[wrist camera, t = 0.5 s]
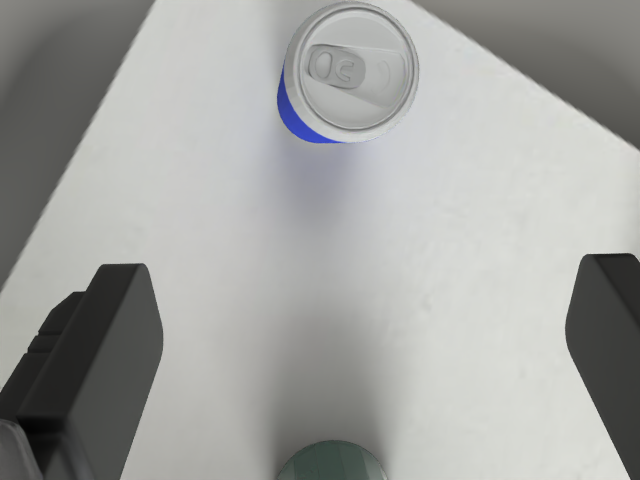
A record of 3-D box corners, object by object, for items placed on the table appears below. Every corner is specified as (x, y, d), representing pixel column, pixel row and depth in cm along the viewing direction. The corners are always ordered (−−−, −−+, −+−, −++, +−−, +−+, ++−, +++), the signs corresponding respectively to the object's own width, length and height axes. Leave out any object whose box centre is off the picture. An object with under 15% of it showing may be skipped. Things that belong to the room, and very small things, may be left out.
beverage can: (369, 68, 36) (441, 16, 21) (350, 151, 37) (406, 157, 22) (287, 47, 35) (302, -23, 20) (268, 132, 36) (270, 124, 21)
